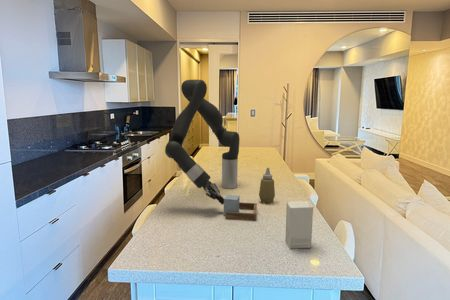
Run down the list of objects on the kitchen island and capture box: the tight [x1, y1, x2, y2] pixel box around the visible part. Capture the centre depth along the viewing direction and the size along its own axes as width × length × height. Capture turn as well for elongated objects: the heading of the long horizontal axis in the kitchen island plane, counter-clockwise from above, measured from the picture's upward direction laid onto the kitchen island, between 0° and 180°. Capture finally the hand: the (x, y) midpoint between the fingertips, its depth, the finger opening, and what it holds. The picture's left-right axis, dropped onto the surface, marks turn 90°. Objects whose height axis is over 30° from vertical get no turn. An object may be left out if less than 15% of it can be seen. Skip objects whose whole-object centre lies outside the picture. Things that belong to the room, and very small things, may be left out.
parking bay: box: [224, 201, 258, 222], centre depth 137 cm, size 14×13×3 cm
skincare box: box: [285, 200, 314, 249], centre depth 108 cm, size 8×7×16 cm
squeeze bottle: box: [258, 167, 276, 205], centre depth 152 cm, size 8×8×18 cm
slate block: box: [223, 194, 240, 217], centre depth 136 cm, size 6×6×8 cm
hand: (224, 202), depth 137 cm, fingers closed
